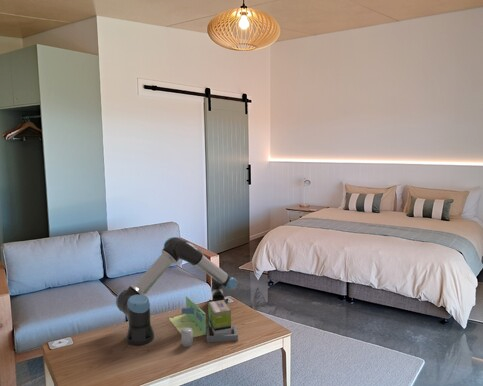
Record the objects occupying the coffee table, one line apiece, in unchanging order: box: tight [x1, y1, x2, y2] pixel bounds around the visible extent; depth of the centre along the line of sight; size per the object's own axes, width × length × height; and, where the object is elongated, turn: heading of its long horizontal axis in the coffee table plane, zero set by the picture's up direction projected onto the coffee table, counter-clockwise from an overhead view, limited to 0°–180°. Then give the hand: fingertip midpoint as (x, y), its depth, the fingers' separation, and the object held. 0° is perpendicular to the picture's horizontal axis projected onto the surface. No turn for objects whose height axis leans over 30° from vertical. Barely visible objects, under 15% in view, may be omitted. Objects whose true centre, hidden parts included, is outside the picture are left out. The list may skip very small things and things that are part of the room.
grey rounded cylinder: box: [180, 328, 194, 348], centre depth 213 cm, size 6×6×8 cm
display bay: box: [205, 323, 239, 344], centre depth 222 cm, size 17×14×3 cm
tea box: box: [207, 300, 232, 336], centre depth 228 cm, size 15×10×15 cm, turn 18°
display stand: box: [168, 295, 207, 338], centre depth 233 cm, size 30×12×12 cm, turn 29°
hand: (220, 312), depth 236 cm, fingers closed
